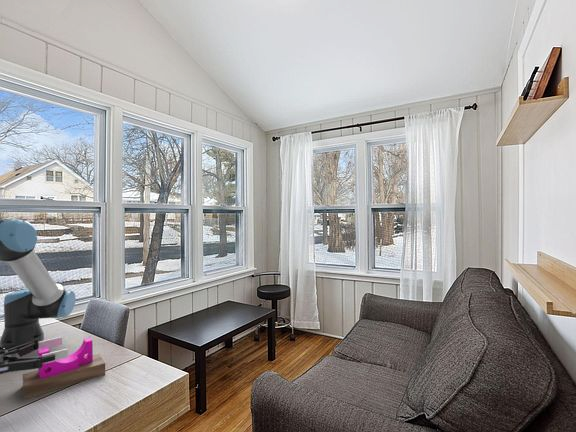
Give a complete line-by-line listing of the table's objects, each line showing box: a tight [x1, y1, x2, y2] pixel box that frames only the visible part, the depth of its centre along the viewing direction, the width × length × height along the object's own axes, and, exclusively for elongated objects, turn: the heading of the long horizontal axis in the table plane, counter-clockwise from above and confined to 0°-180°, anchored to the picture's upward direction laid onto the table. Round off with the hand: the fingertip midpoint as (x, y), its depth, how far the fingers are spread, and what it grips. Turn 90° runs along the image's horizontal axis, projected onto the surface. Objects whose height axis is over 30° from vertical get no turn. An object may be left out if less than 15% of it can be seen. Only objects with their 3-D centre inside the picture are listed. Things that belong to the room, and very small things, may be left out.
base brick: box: [22, 353, 106, 400], centre depth 107 cm, size 10×22×4 cm, turn 132°
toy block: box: [37, 337, 94, 379], centre depth 108 cm, size 15×6×8 cm, turn 132°
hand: (64, 346), depth 107 cm, fingers open, 13 cm apart
